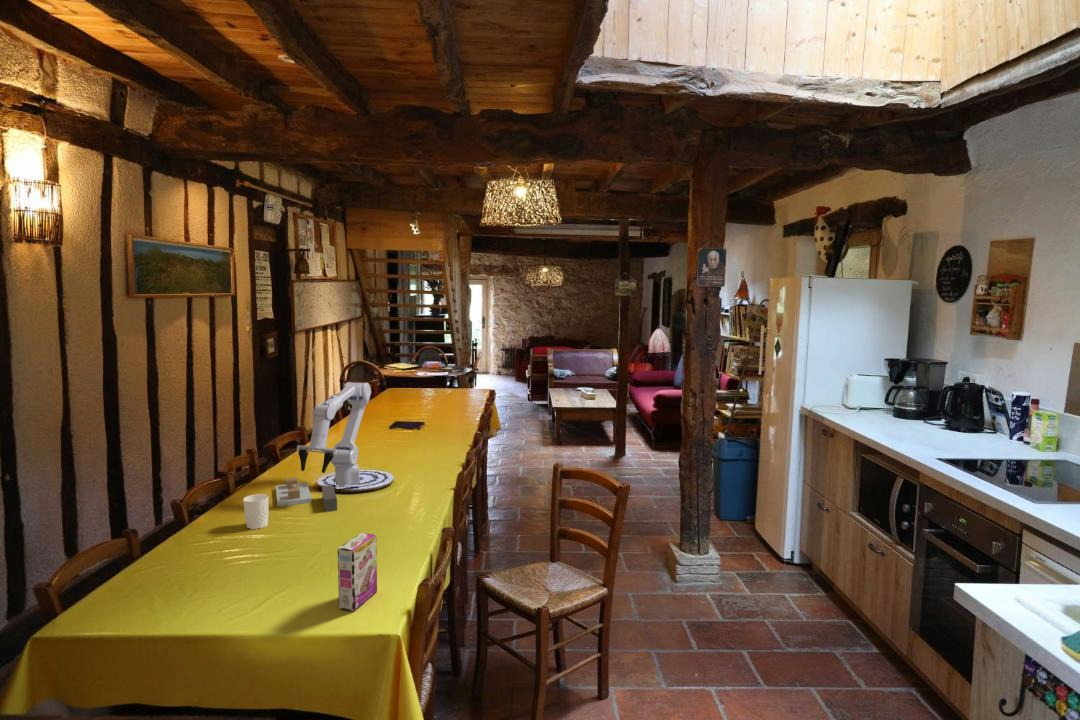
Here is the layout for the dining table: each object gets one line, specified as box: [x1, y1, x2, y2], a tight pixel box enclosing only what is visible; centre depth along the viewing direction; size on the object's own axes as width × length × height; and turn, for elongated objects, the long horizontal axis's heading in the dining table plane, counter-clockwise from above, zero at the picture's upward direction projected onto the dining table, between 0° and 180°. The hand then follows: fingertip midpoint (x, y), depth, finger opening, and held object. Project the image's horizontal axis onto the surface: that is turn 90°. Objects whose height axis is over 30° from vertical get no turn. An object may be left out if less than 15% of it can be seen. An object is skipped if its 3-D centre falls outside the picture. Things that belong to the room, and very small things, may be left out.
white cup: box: [242, 493, 270, 530], centre depth 215 cm, size 8×8×10 cm
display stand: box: [275, 476, 313, 507], centre depth 246 cm, size 12×22×4 cm, turn 25°
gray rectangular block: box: [321, 484, 338, 513], centre depth 236 cm, size 4×16×5 cm, turn 23°
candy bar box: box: [337, 532, 378, 612], centre depth 164 cm, size 11×5×16 cm, turn 163°
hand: (312, 471), depth 235 cm, fingers open, 7 cm apart
